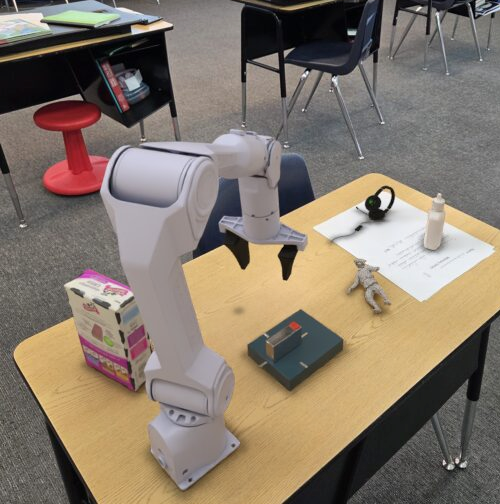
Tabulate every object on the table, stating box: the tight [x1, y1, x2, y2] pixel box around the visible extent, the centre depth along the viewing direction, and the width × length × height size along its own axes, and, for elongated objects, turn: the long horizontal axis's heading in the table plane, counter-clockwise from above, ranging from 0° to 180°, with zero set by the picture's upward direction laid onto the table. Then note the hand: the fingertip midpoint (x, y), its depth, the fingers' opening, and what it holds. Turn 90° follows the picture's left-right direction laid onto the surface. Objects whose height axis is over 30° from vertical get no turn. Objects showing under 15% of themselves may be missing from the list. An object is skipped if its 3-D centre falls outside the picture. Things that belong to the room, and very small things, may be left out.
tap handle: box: [266, 321, 302, 362], centre depth 85 cm, size 6×2×4 cm, turn 134°
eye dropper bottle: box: [423, 192, 446, 251], centre depth 112 cm, size 4×6×12 cm
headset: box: [330, 185, 396, 243], centre depth 121 cm, size 7×7×20 cm
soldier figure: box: [346, 258, 392, 314], centre depth 100 cm, size 8×5×12 cm
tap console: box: [246, 308, 344, 392], centre depth 87 cm, size 14×10×3 cm
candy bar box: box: [63, 268, 153, 393], centre depth 82 cm, size 11×5×16 cm, turn 59°
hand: (266, 271), depth 91 cm, fingers open, 7 cm apart
